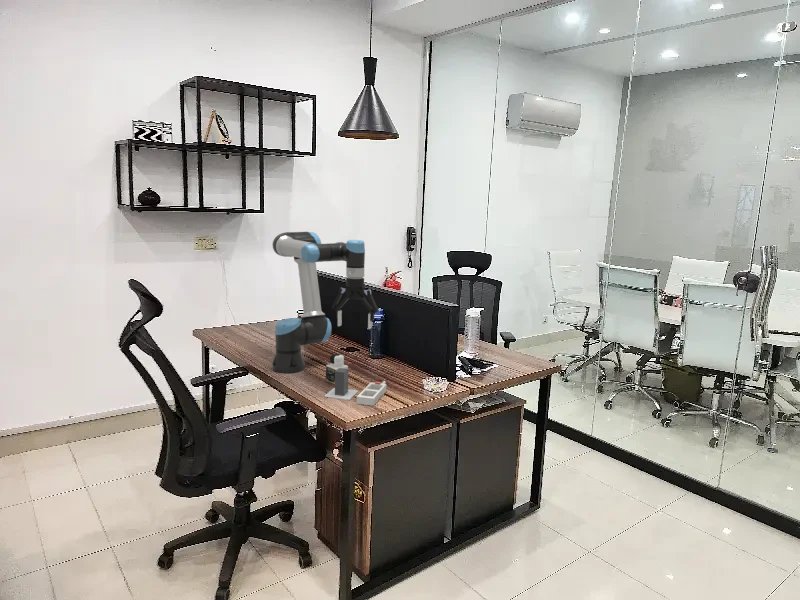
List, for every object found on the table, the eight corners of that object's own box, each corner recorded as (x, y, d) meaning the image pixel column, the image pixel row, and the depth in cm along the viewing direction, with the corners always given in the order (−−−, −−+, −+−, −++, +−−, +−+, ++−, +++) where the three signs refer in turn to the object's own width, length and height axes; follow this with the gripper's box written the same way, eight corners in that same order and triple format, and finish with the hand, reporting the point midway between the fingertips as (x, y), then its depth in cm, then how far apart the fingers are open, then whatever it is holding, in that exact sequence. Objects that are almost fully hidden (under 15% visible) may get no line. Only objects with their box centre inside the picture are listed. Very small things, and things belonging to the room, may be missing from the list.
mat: (334, 388, 239) (334, 387, 239) (358, 391, 236) (358, 390, 236) (324, 397, 228) (324, 396, 228) (349, 400, 226) (349, 399, 225)
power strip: (377, 382, 248) (377, 374, 247) (392, 384, 246) (392, 376, 245) (356, 403, 222) (356, 394, 221) (373, 405, 220) (373, 396, 220)
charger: (339, 390, 235) (339, 368, 233) (348, 391, 234) (348, 369, 232) (334, 394, 230) (334, 371, 228) (343, 395, 229) (344, 372, 227)
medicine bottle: (325, 380, 248) (325, 354, 246) (338, 377, 253) (338, 351, 251) (335, 384, 243) (335, 358, 241) (348, 381, 248) (348, 355, 246)
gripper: (323, 276, 232) (323, 326, 236) (381, 280, 225) (380, 331, 229) (330, 274, 239) (330, 322, 243) (386, 278, 232) (385, 327, 236)
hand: (354, 327), depth 236 cm, fingers open, 13 cm apart
